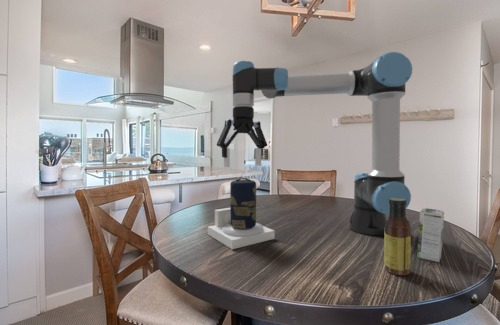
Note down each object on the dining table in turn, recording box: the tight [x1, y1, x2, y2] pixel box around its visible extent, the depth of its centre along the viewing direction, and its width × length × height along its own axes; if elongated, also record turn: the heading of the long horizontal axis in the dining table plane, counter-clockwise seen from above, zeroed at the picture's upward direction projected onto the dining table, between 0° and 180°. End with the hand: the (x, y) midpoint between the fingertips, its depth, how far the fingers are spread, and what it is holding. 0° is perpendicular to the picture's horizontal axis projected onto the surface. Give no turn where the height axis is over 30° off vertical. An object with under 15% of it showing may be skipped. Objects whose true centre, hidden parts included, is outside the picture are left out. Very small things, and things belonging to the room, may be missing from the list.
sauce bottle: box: [383, 198, 412, 276], centre depth 71 cm, size 6×6×20 cm
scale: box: [207, 207, 276, 250], centre depth 99 cm, size 18×18×9 cm
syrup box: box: [416, 207, 445, 263], centre depth 81 cm, size 6×6×14 cm
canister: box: [229, 177, 257, 229], centre depth 97 cm, size 10×10×18 cm
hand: (243, 166), depth 96 cm, fingers open, 13 cm apart
